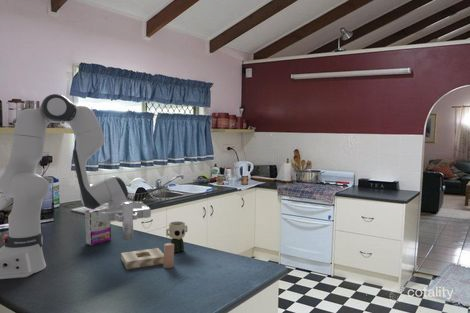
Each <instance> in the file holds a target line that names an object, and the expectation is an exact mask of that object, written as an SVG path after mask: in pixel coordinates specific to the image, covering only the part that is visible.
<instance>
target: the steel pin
mask: <svg viewBox="0 0 470 313" xmlns="http://www.w3.org/2000/svg"><path fill="white" fill-rule="evenodd" d="M122 216H123V221H122V222H121V224H122V225H121V226H122V227H121V228H122V231H121V232H122V240H123V241H131V240H133V239H134V220H133V202H123V203H122Z"/></svg>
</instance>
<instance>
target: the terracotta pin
mask: <svg viewBox="0 0 470 313" xmlns="http://www.w3.org/2000/svg"><path fill="white" fill-rule="evenodd" d="M163 254H164V264H163V268H164V269H171V268H173V267H174V260H175V259H174V258H175V257H174V256H175V252H174V244H172V243H171V242H169V243H164V244H163Z"/></svg>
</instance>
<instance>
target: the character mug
mask: <svg viewBox="0 0 470 313" xmlns="http://www.w3.org/2000/svg"><path fill="white" fill-rule="evenodd" d="M187 232H188V225H186V223H185V222H184V221H177V220H176V221H171V222H169V224H168V228H167V229H166V232H165V233H166V236H167V237H169V238H171V240H170V243H172V244H174V253H180V252H183V251H185V246H184V239H183V238H184V237H185V235H186V233H187Z"/></svg>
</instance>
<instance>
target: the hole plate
mask: <svg viewBox="0 0 470 313" xmlns="http://www.w3.org/2000/svg"><path fill="white" fill-rule="evenodd" d="M120 256H121V258H120V259H121V261H122V264H123V265H124V267H125V269H126V270H131V269H137V268H143V267H150V266H157V265H162V264H164V252H162V250H161V249H160V248H159V247H154V248H147V249H141V250H139V249H138V250H133V251H126V252H121V254H120Z"/></svg>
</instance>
